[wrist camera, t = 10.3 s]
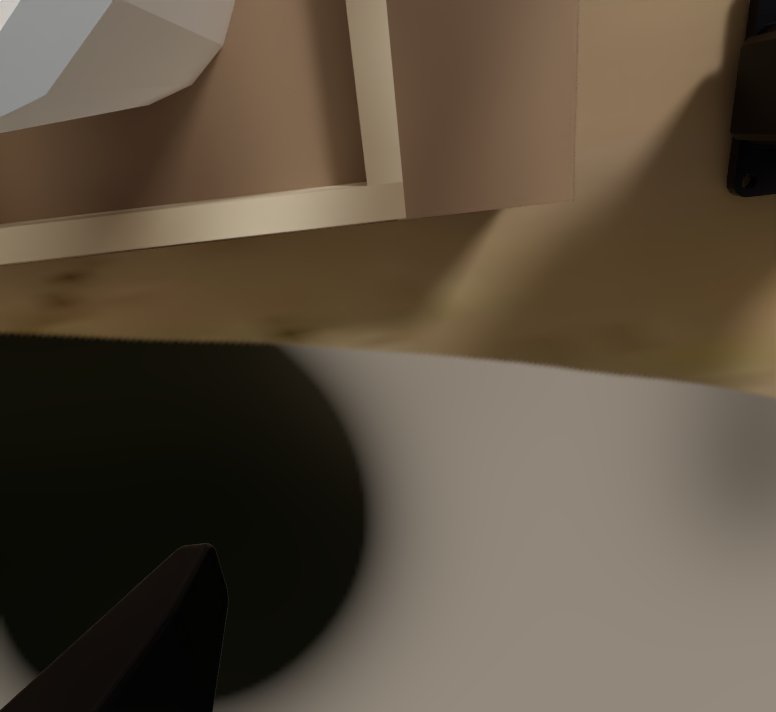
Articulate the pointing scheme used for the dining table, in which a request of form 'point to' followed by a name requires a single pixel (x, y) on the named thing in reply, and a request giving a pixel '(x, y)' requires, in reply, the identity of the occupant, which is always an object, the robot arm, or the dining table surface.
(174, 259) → the dining table surface
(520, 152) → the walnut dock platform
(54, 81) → the shot glass
